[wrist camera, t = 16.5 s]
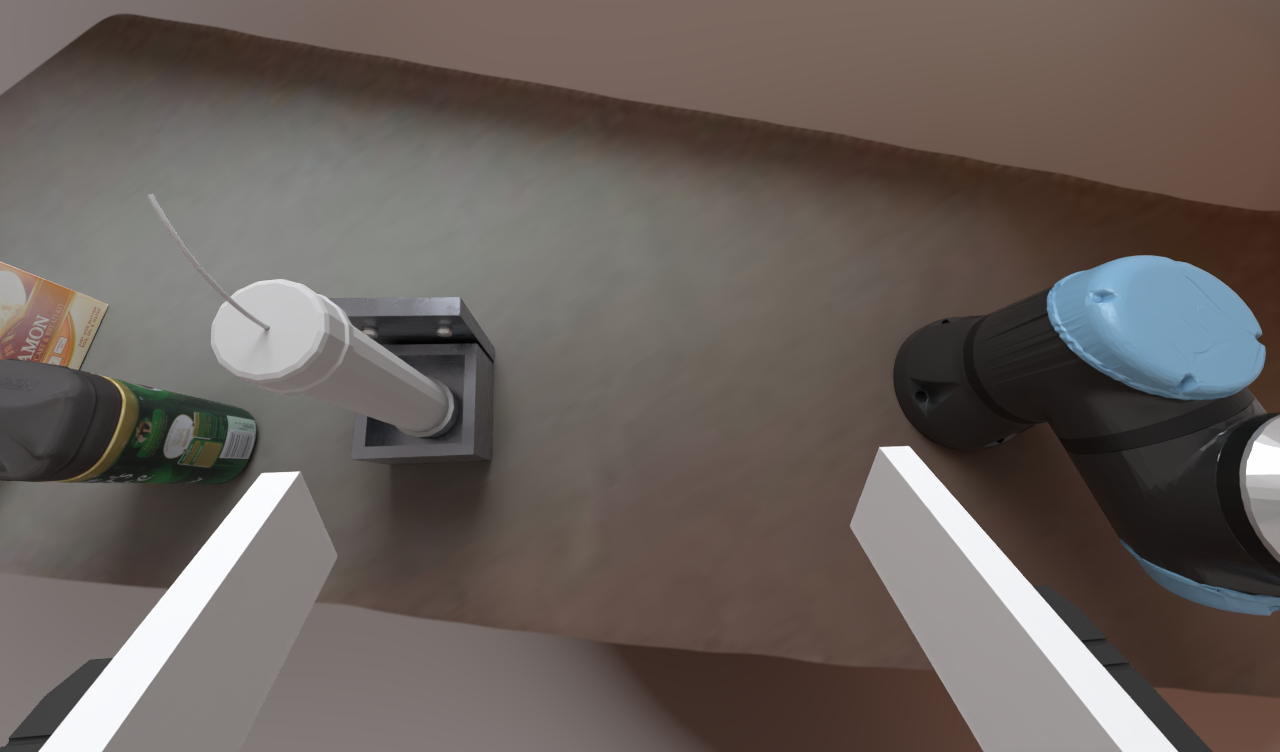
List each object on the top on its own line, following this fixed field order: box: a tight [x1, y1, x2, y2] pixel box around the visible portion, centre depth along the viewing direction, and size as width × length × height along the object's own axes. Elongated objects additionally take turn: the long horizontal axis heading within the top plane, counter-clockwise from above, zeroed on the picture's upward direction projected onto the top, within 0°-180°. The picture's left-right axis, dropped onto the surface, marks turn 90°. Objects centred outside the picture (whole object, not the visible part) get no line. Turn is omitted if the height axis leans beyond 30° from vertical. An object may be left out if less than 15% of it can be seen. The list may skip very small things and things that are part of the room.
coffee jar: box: [0, 358, 257, 484], centre depth 39 cm, size 10×8×19 cm
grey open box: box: [328, 297, 494, 465], centre depth 44 cm, size 12×10×14 cm
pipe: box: [147, 194, 459, 438], centre depth 32 cm, size 6×6×30 cm
